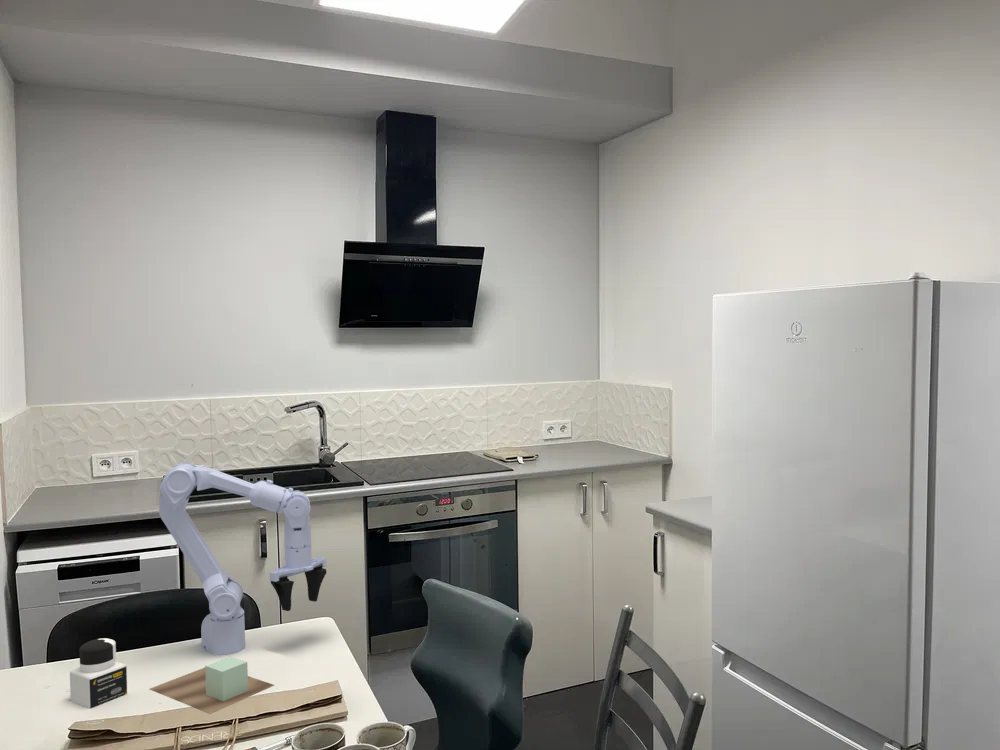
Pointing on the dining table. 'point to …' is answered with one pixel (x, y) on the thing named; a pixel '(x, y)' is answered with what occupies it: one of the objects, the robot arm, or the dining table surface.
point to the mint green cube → (226, 678)
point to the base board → (204, 691)
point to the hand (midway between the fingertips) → (299, 605)
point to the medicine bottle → (98, 674)
